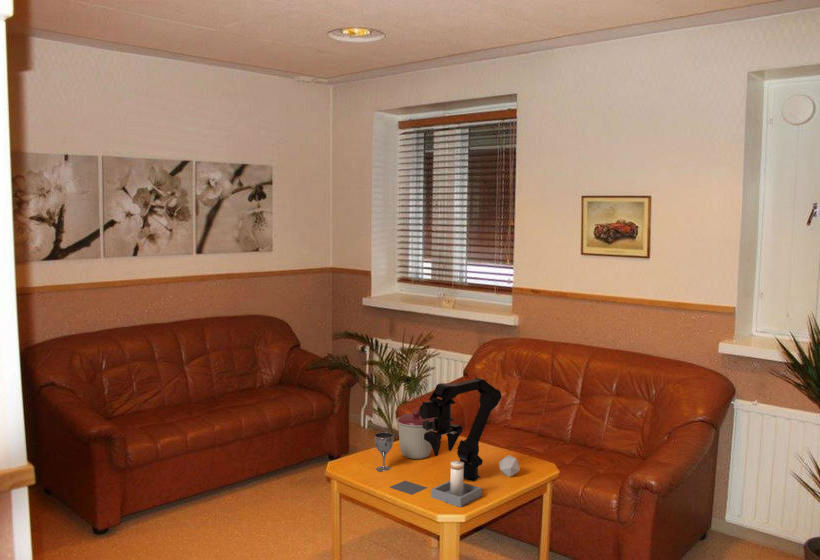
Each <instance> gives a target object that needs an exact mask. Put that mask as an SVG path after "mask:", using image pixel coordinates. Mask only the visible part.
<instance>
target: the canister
mask: <svg viewBox="0 0 820 560" xmlns="http://www.w3.org/2000/svg"><path fill="white" fill-rule="evenodd" d="M434 418H435V417H434ZM434 418H429V419H422V418H421V416H420V414H419V409H414V410H413V411H412V413H405V414H402V415H400V416H399V417H397V418H396V420H395V421H396V423H397V428H398V437H399V440H398V441H399V447H400V452H401V454H402V456H403V457H405V458H407V459H412V460H419V459H421V460H423V459H425V458H429V456H430V454H431V452H432V450H433V449H432V446H431V444H430V443H429V442H428V441H426V440H424V434H425V433H426V432H429V431H433V429H430V430H428V431H426V429H424V428H423V421H427V420H428V421H434ZM433 432H435V431H433Z"/></svg>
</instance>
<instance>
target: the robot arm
mask: <svg viewBox="0 0 820 560" xmlns="http://www.w3.org/2000/svg"><path fill="white" fill-rule="evenodd" d="M473 391H477V392H478V393H479V394H480V396H479V404H480V405H479V409H478V410H477V413H476V415H475V417H474V420H473V422H472V426H471V428H470V430H469V433H468V435H467V437H466V438H465V439H464V440H463V439H461V440H460V441H459V445H458V446H457V448H456V449H457V451H456V455H457V457H458V459H459V461H461V462H463V463H464V473H463V480H466V481H470V482H475V481H477V480H478V479H481V478H482V476H481V475H479V467H480V466H482V464H483V462H484V460H483V459H482V458H481V457H480V455H479V452H480V446H479V442H480V440H481V438H482V435H483V432H484V430H485V427H486V425H487V422H488V419H489V417H490V415H491V412H492V411H493V410H494V409H495V408H496V407H497V406H498V404H499V403H500V401H501V398H502V397H503V396H502V393H501V391H500V389H497V388H496V387H494V386H493V385H491V384H490V383H488V381H486V380H485V379H484V378H480V377H475V378H473V379H469V380H466V381H461V382H457V383H456V382H455V383H448V382H447V383H445V382H444V383H443V382H442V383H438V384H436V387H435V388H434V390H433V392H432V394H431V395H430V397H429V399H428V400H429V401H426V400H425V401H422V403H421V405H420V407H419V408H418V410H419V414H420V416H421V418H422V419H429V418H434V421H428V420H427V421H423V428H424V429H426V431H428V430H430V429H433V431H434V432H433V431H429V432H426V433H425V434H424V440H426V441H428V442H429V443H430V444H431V446H432V449H431V450H432V452H433V455H434V457H438V456H439V453H440V449H441V445H442V437H443V436H445V435H446V437H447V448H448V449H447V450H448V452H451V451H452V450H453V448H454V447H455V444H456V442H457V440H458V438H459V437H460V436H461V434H462V433H463V427H462V425H460V424H456V423H451V422H453V420H454V418H453V417H452V405H455V404H456V401H455V400H454V399H455V398H457V396H458V395H461V394H464V393H469V392H473Z"/></svg>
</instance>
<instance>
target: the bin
mask: <svg viewBox="0 0 820 560" xmlns="http://www.w3.org/2000/svg"><path fill="white" fill-rule="evenodd" d="M482 491H483V488H482V487H481V486H476V485H472V484H469V483H466V482H463V496H461V497H459V496H456V495H452V494H450V480H447V482H446V481H445V482H443V483H442V484H440V485H437V486H435V487H433V488H431V489H430V498H432V499H435V500H438V501H441V502H444V503H446V504H449V505H451V506H455V507H458V508H463V507H465V506H466V505H469V504H470V503H472V502H474V501H476V500H477V499H480V498H481V497H482V495H483V494H482V493H483V492H482Z"/></svg>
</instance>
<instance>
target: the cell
mask: <svg viewBox="0 0 820 560" xmlns="http://www.w3.org/2000/svg"><path fill="white" fill-rule="evenodd" d="M463 473H464V463H463V462H461V461H460V460H453V461H450V479H449V481H450V494H452V495H456V496H459V497H461V496H463V483H464V479H463Z"/></svg>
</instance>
